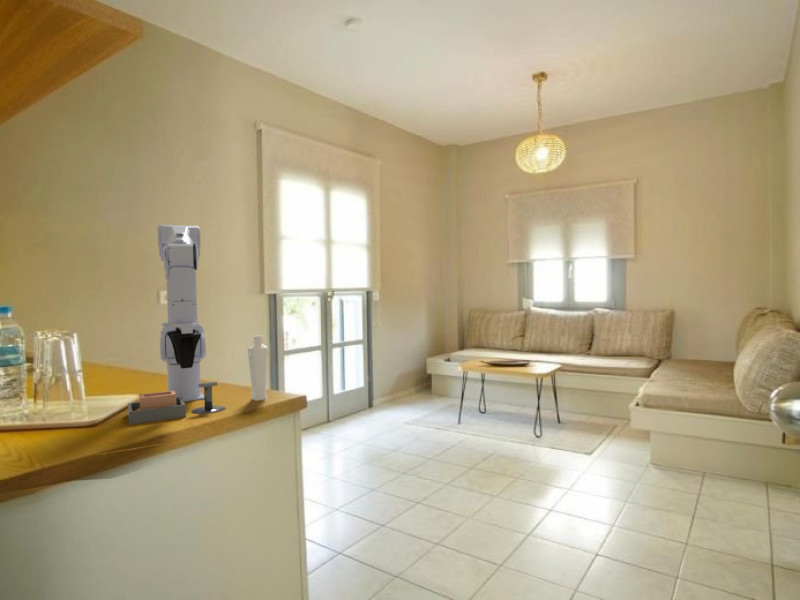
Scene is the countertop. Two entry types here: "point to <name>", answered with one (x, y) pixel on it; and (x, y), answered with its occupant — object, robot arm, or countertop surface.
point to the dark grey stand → (208, 400)
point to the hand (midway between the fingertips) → (184, 365)
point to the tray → (155, 412)
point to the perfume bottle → (258, 368)
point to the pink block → (157, 400)
